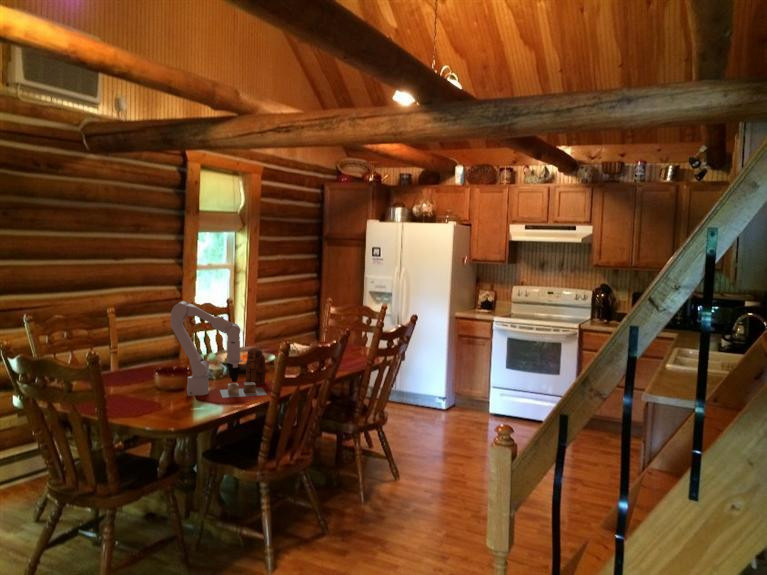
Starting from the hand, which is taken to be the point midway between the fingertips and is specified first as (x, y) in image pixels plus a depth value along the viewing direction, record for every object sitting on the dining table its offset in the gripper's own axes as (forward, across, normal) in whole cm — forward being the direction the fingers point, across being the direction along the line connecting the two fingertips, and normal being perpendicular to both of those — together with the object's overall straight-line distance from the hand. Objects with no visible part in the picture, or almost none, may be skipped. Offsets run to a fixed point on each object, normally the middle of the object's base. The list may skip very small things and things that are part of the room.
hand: (233, 379), depth 288 cm
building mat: (+7, 0, -4) cm, 8 cm away
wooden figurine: (+7, +18, -12) cm, 23 cm away
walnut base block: (+6, 0, -7) cm, 10 cm away
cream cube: (+6, 0, 0) cm, 6 cm away
